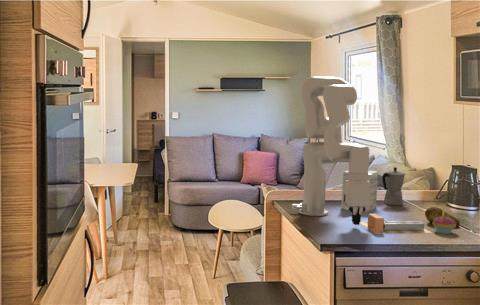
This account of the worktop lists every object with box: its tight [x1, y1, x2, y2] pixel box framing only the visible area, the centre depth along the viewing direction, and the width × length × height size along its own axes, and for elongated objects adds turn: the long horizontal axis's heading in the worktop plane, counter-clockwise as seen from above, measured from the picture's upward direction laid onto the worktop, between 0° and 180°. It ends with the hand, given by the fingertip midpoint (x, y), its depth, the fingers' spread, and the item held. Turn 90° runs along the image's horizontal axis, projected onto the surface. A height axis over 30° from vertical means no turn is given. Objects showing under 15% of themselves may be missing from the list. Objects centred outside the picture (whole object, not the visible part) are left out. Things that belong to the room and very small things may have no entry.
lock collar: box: [367, 213, 385, 233], centre depth 208 cm, size 3×8×5 cm, turn 9°
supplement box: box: [340, 169, 379, 213], centre depth 253 cm, size 13×13×18 cm
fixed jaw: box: [383, 221, 425, 231], centre depth 210 cm, size 17×4×4 cm, turn 99°
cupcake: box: [431, 204, 457, 235], centre depth 208 cm, size 9×8×12 cm
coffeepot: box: [381, 166, 406, 206], centre depth 266 cm, size 15×9×18 cm, turn 124°
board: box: [359, 221, 433, 235], centre depth 213 cm, size 23×18×1 cm
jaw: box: [385, 220, 423, 223], centre depth 211 cm, size 14×2×3 cm, turn 99°
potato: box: [424, 206, 460, 228], centre depth 220 cm, size 8×13×8 cm, turn 44°
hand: (356, 224), depth 210 cm, fingers closed
